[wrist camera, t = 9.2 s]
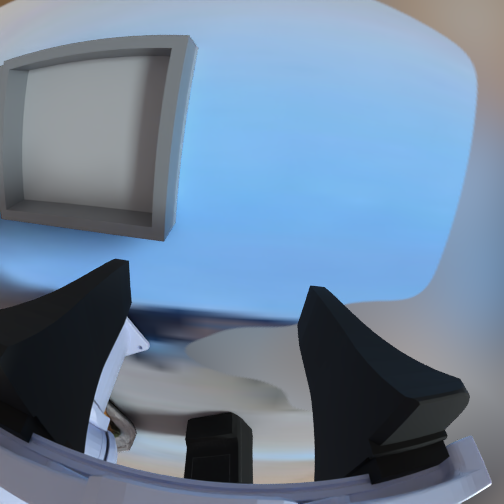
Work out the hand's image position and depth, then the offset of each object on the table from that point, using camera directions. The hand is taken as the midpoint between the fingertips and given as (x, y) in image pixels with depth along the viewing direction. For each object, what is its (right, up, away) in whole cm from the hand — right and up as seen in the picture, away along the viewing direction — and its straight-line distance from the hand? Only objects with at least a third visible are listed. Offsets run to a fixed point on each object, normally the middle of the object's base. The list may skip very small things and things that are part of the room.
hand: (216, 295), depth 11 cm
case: (-10, +10, +5) cm, 15 cm away
